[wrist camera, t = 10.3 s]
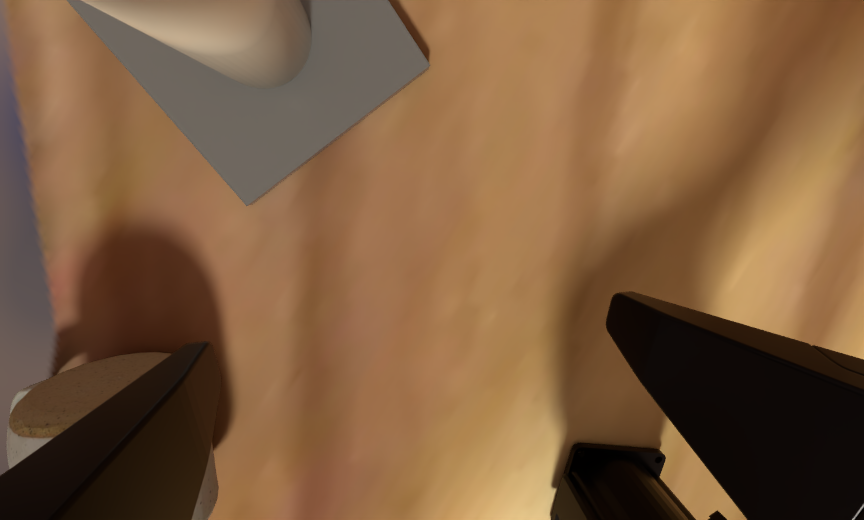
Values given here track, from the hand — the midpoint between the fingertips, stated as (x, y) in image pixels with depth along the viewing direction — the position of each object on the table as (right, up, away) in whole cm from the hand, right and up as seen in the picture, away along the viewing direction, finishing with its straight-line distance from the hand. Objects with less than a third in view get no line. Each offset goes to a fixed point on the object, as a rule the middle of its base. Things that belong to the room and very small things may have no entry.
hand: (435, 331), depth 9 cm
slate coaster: (-8, +12, +9) cm, 17 cm away
